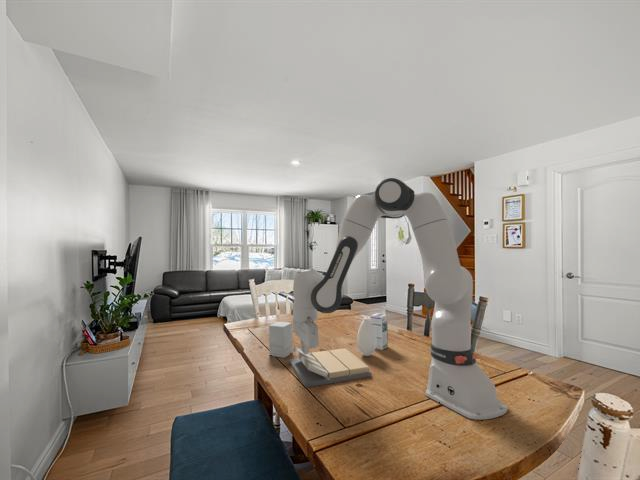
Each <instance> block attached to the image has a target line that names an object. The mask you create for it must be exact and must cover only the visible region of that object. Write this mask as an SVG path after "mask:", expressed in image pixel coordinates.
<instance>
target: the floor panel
mask: <svg viewBox="0 0 640 480" xmlns="http://www.w3.org/2000/svg"><path fill="white" fill-rule="evenodd" d="M310 353H311V354H312V356H313V357H314V358H315V359H316V360H317V361H318V362H319V363H320V364H321V366H322V367H323V368H324V369H325V370H326V371H327V372H328V375H327V377H324V376H322V375H319V374H317V373H314V372H312V371H309V370H308V369H307V368H306V367H305V365H304V364H303V363H302V361H301V360H300V359H299V357H296V358H289V359H288V363H289V365H290V364H291V365H290V366H291V368H292V367H293V368H292V370H293V371H294V372H295V374H296V375H297V377H298V379H299V380H300V382H301V383H302V384H303V386H304V387H305V388H312V387H317V386H323V385H327V384H335V383H340V382H347V381H351V380H357V379H358V380H359V379H364V378H369V377H372V372H371V371H370V367H369V365H367V364H366V363H365V362H364V361H362V359H360V358H359V357H357V356H356V355H354V354H353V353H352V352H351V351H349V350H348V349H347V348H337V349H329V350H322V351H313V352H310Z"/></svg>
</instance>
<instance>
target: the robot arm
mask: <svg viewBox="0 0 640 480" xmlns="http://www.w3.org/2000/svg"><path fill="white" fill-rule="evenodd" d="M402 217H407V219H408V220H409V223H410V226H411V229H412V232H413V235H414V237H415V241H416V244H417V247H418V250H419V253H420V258H421V265H422V270H423V276H424V281H425V283H424V288H425V292H426V294H427V296H428V297H429V298H430V299H431V300H432V301H433V302H434V308H433V314H432V318H431V343H430V349H429V350H430V355H431V362H430V365H429V372H428V382H427V385H426V388H427V389H426V390H425V396H426V397H428V398H430V399H431V400H433V401H435V402H437V403H439V402H440V403H439V404H440V405H442V406H445V407H447V408H449V409H450V410H452V411H454V412H456V413H458V414H460V415H461V416H464V417H465V418H467V419H469V420H470V419H471V420H482V421H483V420H491V419H495V418H498V417H502V416H503V415H505V414H506V413H507V412H508V406H507V404H505V403H504V402H503V401H501V400H499V399H498V393H497V392H498V391H497V389H496V386H495V383H493V381H492V380H491V379H490V377H489V376H487V374H486V373H485V372H484V371H483V370H482V368H481V367H480V366H479V364H477V360H476V359H479V357H478V356H479V354H474V350H473V348H472V344H471V342H472V341H471V340H472V338H471V337H472V336H471V331H472V329H471V319H472V310H473V309H472V308H473V296H474V295H473V290H474V279H473V276H472V274H471V272H470V271H469V270H468V269H467V268H466V267H464V266H462V265H461V262H460V258H459V254H458V250H457V242H456V239H455V238H454V235H453V231H452V229H451V227H450V224H449V221H448V219H447V216H446V213H445V211H444V209H443V207H442V205H441V203H440V201H439V199H437V196H436V195H435V194H434V193H432V192H420V193H415V191H414V190H413V189H412V188H411V187H410V186H409V185H407V184H406V183H405V182H403V181H402V180H400V179H398V178H395V177H388V178H385V179H383V180H381V181H380V182H379V183H378V184H377V186H376V188H375V191H374V195H370V194H366V193H365V194H364V193H363V194H358V195H357V196H355V197H354V199H353V201H352V202H351V203H350V205H349V207H348V209H347V211H346V213H345V214H344V217H343V218H342V222H341V225H340V228H339V230H338V235H337V240H336V246H335V251H334V255H333V257H332V259H331V261H330V264H329V267H328V268H327V269H326V272H325V275H324V274H321V272H319V271H317V270H316V269H315V268H307V269H303V270H299V271H298V272H296V273H295V274H294V277H293V283H292V284H293V287H292V295H293V305H292V309H291V310H290V314H291V316H292V331H293V333H294V334H295V335H296V336H297V337H298V338H299V341H300V345H301V349H302V352H303V353H304V354H308V353H310V349H311V350H312V349H316V348H318V347H319V343H320V341H319V339H320V338H319V327H318V325H317V324H316V323H315V321H317V320H318V312H319V313H321V314H332V313H334V312H336V311H337V310H338V309H339V308H340V307H341V304H342V300H343V295H344V287H343V284H344V281H345V280H346V277H347V274H348V272H349V270H350V267H351V266H352V263H353V261H354V259H355V257H357V255H358V254H359V253H360V252H361V250H363V248H364V246H365V245H366V244H367V243H368V241H369V239H370V237H371V234H372V232H373V231H374V228H375V226H376V223H377V221H378V220H379V219H380V218H382V219H393V220H394V219H400V218H402Z"/></svg>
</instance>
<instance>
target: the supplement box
mask: <svg viewBox="0 0 640 480" xmlns="http://www.w3.org/2000/svg"><path fill="white" fill-rule="evenodd" d="M268 337H269V338H268V341H269V342H268V345H269V347H268V351H269V353H268V354H269V355H272V356H271V357H277V358H286V357H288V356H289V355H291V354H292V353H293V322H287V321H276V322H274V323H272V324H269V325H268ZM290 353H291V354H290ZM269 355H268V356H269Z"/></svg>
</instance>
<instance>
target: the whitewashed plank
mask: <svg viewBox="0 0 640 480" xmlns="http://www.w3.org/2000/svg"><path fill="white" fill-rule="evenodd" d="M292 352H294V354H295V355H296V356H297V358H299V359H300V360H301V361H302V363H303V364H304V365H305V367H306V368H307V369H308V370H309V371H312V372H314V373H317V374H319V375H322V376H324V377H327V375H328V372H327V371H326V370H325V369H324V368H323V367H322V366H321V364H320V363H319V362H318V361H317V360H316V359H315V358H314V357H313V356H312V354H311V353H312V352H309V353H308V354H304V353H303V352H302V348H300V347H297V346H295V345H294V346H293V347H292Z"/></svg>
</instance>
